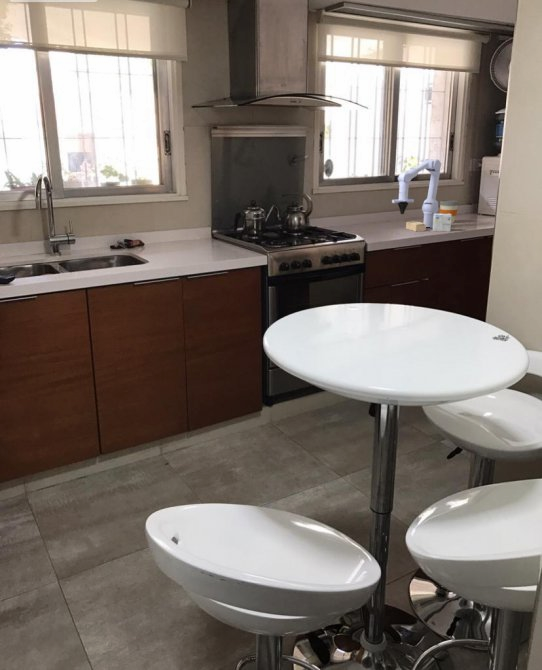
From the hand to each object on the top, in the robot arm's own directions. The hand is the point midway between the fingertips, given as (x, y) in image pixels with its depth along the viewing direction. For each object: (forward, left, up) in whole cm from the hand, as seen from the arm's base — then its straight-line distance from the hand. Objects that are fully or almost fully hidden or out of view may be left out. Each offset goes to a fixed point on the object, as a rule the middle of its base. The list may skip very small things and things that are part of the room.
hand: (402, 214), depth 385 cm
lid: (-3, +9, -6) cm, 11 cm away
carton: (-3, +9, -10) cm, 14 cm away
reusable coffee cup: (-49, +27, -11) cm, 57 cm away
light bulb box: (-6, +25, -11) cm, 28 cm away
